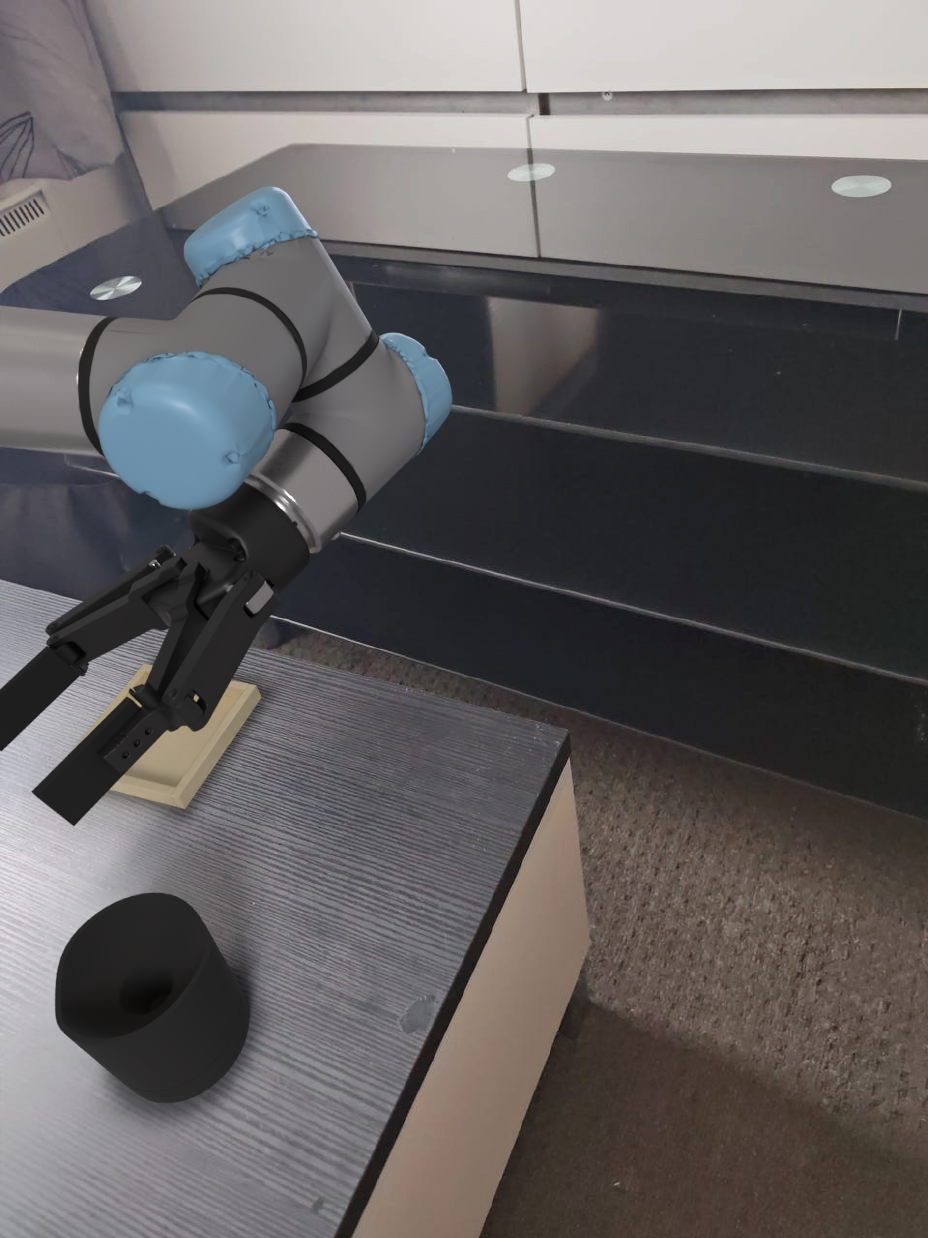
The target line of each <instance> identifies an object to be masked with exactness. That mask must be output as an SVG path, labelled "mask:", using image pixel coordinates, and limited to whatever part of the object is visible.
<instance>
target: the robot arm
mask: <svg viewBox="0 0 928 1238" xmlns="http://www.w3.org/2000/svg"><path fill="white" fill-rule="evenodd" d="M183 259H184V261H185V263H186V265H187V266H188V268H189V269H190V272H191V273H192V275H193V277H194V279H195V284H196V286H197V287H198V288H200V290H199V291H198V292H197V293H196V294H195V295H194V296H193V298H192V299H191V300H190V301H189V302H188V304H186V307H185V308H184V309H183V310H182V311H181V312H180V313H179V314H178V315H177V316H176V317H175V318H174V319H169V320H164V319H163V320H162V319H151V318H138V317H124V316H108V315H107V316H106V315H96V314H87V313H76V312H68V311H57V310H47V309H37V308H28V307H18V306H8V305H0V448H7V449H9V448H10V449H15V450H16V449H18V450H27V451H35V452H44V453H52V454H53V453H54V454H61V455H62V454H63V455H71V456H72V455H73V456H80V457H88V458H96V459H97V458H98V459H105V460H106V462H107V463H108V465H109V467H110V468H111V470H112V471H113V472H114V473H115V474H116V476H117V477H118V478H119V479H120V480H121V481H122V482H123V483H125V485H126V486H127V487H129V488H130V489H131V490H133V491H134V492H135V493H137V494H139V495H142V494H145V495H147V496H149V497H151V498H153V499H155V500H157V501H158V503H159V504H160V505H161V506H165V507H167V508H173V509H177V510H187V511H188V510H189V511H190V512H189V514H188V525H189V529H190V530H191V532H192V533H193V537H194V542H193V544H192V545H191V546H189V547H187V548H186V549H185V550H184V551H182V552H181V553H180V554H178V555H177V553H175V551H174V550H173V549H172V548H171V547H170V546H169V545H168V543H162V544H161V545H158V546H157V547H156V548H155V549H154V550H153V551H151V553H150V554H148V555H147V556H146V557H145V558H144V559H143V560H141V561H140V562H139V563H138V564H136V565H135V566H134V567H132V568H131V569H129V570H128V571H126V572H124V573H123V574H122V575H120V576H118V577H117V578H115V579H114V580H113V581H111V582H109V583H108V584H107V585H105V586H104V587H103V588H101V589H99V590H98V591H96V592H95V593H93V594H92V595H90V596H88V597H87V598H86V599H84V600H83V601H81V602H80V603H79V604H77V605H75V606H74V607H72V608H71V609H70V610H68V611H66V612H64V613H63V614H62V615H60V616H59V617H57V618H56V619H54V620H53V621H51V622H50V623H49V624H47V626H45V630H44V632H45V634H47V635H48V636H49V638H48V639H47V640H46V642H45V645H46V646H45V647H43V648H42V650H41V651H39V652H38V653H37V654H36V655H35V656H34V657H33V658H32V659H31V660H30V661H28V663H26V664H25V665H24V666H23V667H22V668H21V669H20V670H19V671H18V672H16V674H15V675H13V676H12V678H10V679H9V680H8V681H7V682H6V683H5V684H4V685H2V687H0V752H3V751H4V750H5V749H6V748H7V747H8V746H9V745H10V744H11V743H12V742H13V741H14V740H16V738H17V737H18V736H19V735H20V734H21V733H23V732H24V730H26V729H27V727H29V726H30V725H31V724H32V723H33V722H34V721H35V720H36V719H37V718H38V717H39V716H40V715H41V714H42V713H43V712H44V711H45V710H46V709H48V708H49V706H51V705H52V704H53V702H55V701H56V700H57V699H58V698H59V697H60V696H61V695H62V694H63V693H64V692H65V691H67V689H68V688H69V687H70V686H71V685H72V684H73V683H75V681H76V680H78V679H79V678H80V677H82V678H83V677H86V674H87V673H88V670H89V666H90V662H92V661H94V660H97V658H100V657H102V656H104V655H105V654H107V653H109V652H111V651H113V650H115V649H117V648H119V647H121V646H123V645H124V644H127V643H128V642H130V641H132V640H134V639H136V638H139V637H140V636H142V635H145V634H146V633H148V632H149V631H152V630H157V631H161V632H163V631H167V632H166V634H165V636H164V639H163V642H162V644H161V646H160V648H159V650H158V653H157V655H156V658H155V660H154V662H153V664H152V665H153V667H152V669H151V671H150V673H149V676H148V678H147V680H146V683H145V684H140V685H138V686H135V687H133V689H134V690H135V691H136V692H134V691H133V690H132V689H131V688H130V689H129V694H130V695H131V696H132V697H133V698H134V699H135V700H137V701H138V702H139V703H140V704H141V705H142V706H141V707H139V706H138V705H137V704H136V703H135V702H134V701H133V700H132V699H130V698H129V697H126V698H125V699H124V700H123V701H122V702H121V703H120V704H119V705H118V706H117V707H116V708H115V709H114V710H113V711H112V712H111V713H110V714H109V715H108V716H107V717H106V718H105V719H104V720H103V721H102V722H101V723H100V724H99V725H98V726H97V727H96V728H95V729H94V730H93V731H92V732H91V733H90V734H89V735H88V736H87V737H86V738H85V739H84V740H83V741H82V742H80V743H79V742H78V743H79V744H78V743H77V744H78V745H77V744H76V745H77V746H76V745H75V746H76V747H75V746H74V747H75V748H74V747H73V748H72V749H71V751H70V752H69V753H68V754H66V755H67V756H65V757H64V758H63V759H62V760H61V761H60V762H59V763H58V764H57V765H56V767H54V768H53V769H52V770H51V771H50V772H49V773H48V774H47V776H45V777H44V778H43V779H42V780H41V781H40V782H39V783H38V784H37V785H36V786H35V787H34V788H33V789H32V791H31V793H32V794H33V795H34V797H36V798H37V799H38V800H39V801H41V802H42V803H43V804H45V805H46V806H47V807H49V808H50V809H51V810H52V811H54V812H55V813H56V814H57V815H59V816H60V818H62V819H64V820H65V821H66V822H68V823H69V824H70V825H71V826H73V827H75V826H76V825H78V823H79V822H80V821H81V820H82V819H83V818H84V817H85V816H86V815H87V814H88V813H89V811H90V810H91V809H92V808H93V807H95V805H96V804H97V803H98V802H99V801H100V800H101V799H102V798H103V797H104V796H105V795H106V794H107V793H108V792H109V791H111V790H110V789H111V787H112V786H113V785H114V784H115V783H116V782H117V781H118V780H119V779H120V778H121V777H122V776H123V775H124V774H125V773H126V772H127V771H128V770H129V769H130V768H131V767H132V766H133V765H134V764H135V763H136V761H137V760H138V759H139V758H140V757H141V756H142V755H143V754H144V753H145V752H146V751H147V750H148V749H149V748H150V747H151V746H152V745H153V744H154V743H155V742H156V741H157V740H158V739H159V738H160V737H161V736H162V734H163V733H164V732H165V731H167V730H168V731H169V732H173V731H176V730H178V729H179V728H180V727H181V726H187V727H188V728H189V729H190V730H191V731H192V732H196V731H199V730H201V729H202V728H204V726H206V724H207V723H208V721H209V720H210V718H211V716H212V714H213V712H214V711H215V709H216V707H217V705H218V703H219V702H220V700H221V698H222V696H223V694H224V693H225V691H226V689H227V687H228V685H229V684H230V682H231V680H232V681H233V679H234V677H235V674H236V673H237V671H238V669H239V668H240V666H241V664H242V662H243V660H244V658H245V657H246V655H247V653H248V651H249V649H250V647H251V646H252V644H253V643H254V640H255V638H256V637H257V635H258V633H259V632H260V629H261V628H262V627H263V626H264V624H266V622H267V621H268V620H269V618H270V617H272V615H273V614H274V613H275V612H276V610H277V609H278V608H279V607H280V606H281V604H282V599H281V597H280V596H279V595H280V594H281V593H282V592H283V591H284V590H285V589H286V588H287V587H288V586H289V585H290V584H291V583H292V582H293V581H294V580H295V579H296V578H297V577H298V576H299V575H300V574H301V573H302V571H303V570H305V569H306V568H307V566H308V565H310V564H309V563H310V557H311V554H318V553H319V552H321V551H322V550H323V549H324V548H325V547H326V546H327V545H328V544H329V542H331V541H336V540H338V538H340V537H341V534H342V532H341V531H342V529H343V528H344V527H345V526H346V525H347V524H348V523H349V522H350V521H351V520H352V519H353V518H354V517H355V515H358V513H359V512H360V511H361V510H362V509H363V508H364V506H365V505H366V504H368V502H369V501H370V500H372V498H373V497H374V496H375V495H376V494H377V493H378V492H379V491H381V490H382V488H383V487H384V486H385V485H386V484H388V482H389V481H390V480H391V479H392V478H393V477H394V476H396V474H397V473H398V472H400V470H402V469H403V467H405V466H406V464H408V463H409V461H411V460H413V459H415V457H416V456H418V455H420V453H422V451H423V449H424V448H425V446H426V445H427V443H428V442H429V441H430V440H431V439H432V438H433V436H434V435H435V434H436V433H437V432H438V430H440V428H441V426H442V425H443V423H444V422H445V421H446V420H447V418H448V416H449V415H450V414H451V409H452V406H453V392H452V387H451V384H450V380H449V378H448V375H447V374H446V372H445V370H444V368H443V367H442V365H441V364H440V362H439V361H438V359H436V358H433V357H431V356H430V355H429V354H428V353H427V350H426V348H425V346H423V345H422V344H421V343H420V342H419V341H418V340H416V339H414V338H412V337H410V336H408V335H406V334H403V333H399V332H387V333H383V334H381V335H379V334H377V333H376V332H375V330H374V329H373V327H372V326H371V323H370V322H369V321H368V319H367V317H366V315H365V314H364V313H363V310H362V309H361V307H360V305H359V304H358V302H357V301H356V299H355V297H354V295H353V293H352V292H351V290H350V289H349V287H348V286H347V284H346V282H345V280H344V279H343V277H342V275H341V274H340V272H339V270H338V269H337V267H336V265H335V263H334V262H333V260H332V259H331V257H330V255H329V254H328V252H327V250H326V249H325V247H324V245H323V244H322V242H321V236H320V235H319V233H318V231H316V230H314V229H313V228H312V227H311V225H310V224H309V223H308V221H307V220H306V218H305V217H304V215H303V214H302V213H301V211H300V210H299V209H298V207H297V206H296V204H295V203H294V201H293V200H292V198H291V196H290V195H289V194H288V193H287V192H286V191H285V190H283V189H282V188H279V187H277V186H264V187H261V188H258V189H256V190H253V191H252V192H250V193H248V194H246V195H244V196H242V197H241V198H239V199H238V200H236V201H235V202H233V203H232V204H229V205H228V206H226V207H225V208H223V209H222V210H221V211H219V212H218V213H216V214H215V215H214V216H212V217H210V218H209V219H208V220H207V221H205V222H204V223H203V224H202V225H200V226H199V227H198V228H197V229H196V230H195V231H194V232H192V233H191V235H189V236H188V237H187V239H186V240H185V242H184V245H183ZM289 408H290V410H291V411H292V415H291V416H290V418H288V420H287V421H286V422H285V423H283V425H281V426H280V427H279V425H280V423H281V422H282V419H283V418H284V416H285V414H286V412H287V411H288V409H289ZM195 694H196V695H197V696H198V697H199V699H198V700H197V702H196V701H195V700H194V696H195Z"/></svg>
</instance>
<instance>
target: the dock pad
mask: <svg viewBox="0 0 928 1238" xmlns="http://www.w3.org/2000/svg"><path fill="white" fill-rule="evenodd" d="M152 667H153V664H148V663H143V664H142V665H141V667H140V668H139V669H138V670H137V672H136V673H135V674H134V675H133V676H132V678H131V679H130V680H129V681H128V682H127V684H126V685H125V686H124V687H123V689H121V691H120V692H119V693H118V694H117V695H116V697H114V698H113V700H112V701H111V703H110V704H109V706H107V707H106V709H105V710H104V711H103V712H102V714H101V715H100V716H99V717H98V719H96V721H95V722H94V723H93V725H92V726H91V727H90V728H89V729H88V730H87V732H86V733H85V734H84V735H83V736H82V737H81V739H80V740H79V741H78V742H77V743H76V745H75V746H74V747H73V749H74V748H75V747H76V746H77V745H78V744H79V743H80V742H82V741H83V740H84V739H85V738H86V737H87V736H88V735H89V734H90V733H91V732H92V731H93V730H94V729H95V728H96V727H97V726H98V725H99V724H100V723H101V722H102V721H103V720H104V719H105V718H106V717H107V716H108V715H109V714H110V713H111V712H112V711H113V710H114V709H115V708H116V707H117V706H118V705H119V704H120V703H121V702H122V701H123V700H124V699H125V698H126V697H129V698H130V699H132V700H133V701H134V702H135V703H136V704H137V705H138V706H139V707H141V706H142V705H141V704H140V703H139V702H138V701H137V700H135V699H134V698H133V697H132V696H131V695H130V694H129V689H130V688H131V689H132V690H133V691H134V692H136V691H135V690H134V689H133V687H135V686H138V685H140V684H145V683H146V680H147V678H148V676H149V673H150V671H151V669H152ZM262 697H263V696H262V695H261V692H260V690H259V688H258V685H256V684H254V683H253V684H252V683H248V682H242V681H238V680H237V681H236V680H233V679H232V680H231V682H230V684H229V685H228V687H227V689H226V691H225V693H224V694H223V696H222V698H221V700H220V702H219V703H218V705H217V707H216V709H215V711H214V712H213V714H212V716H211V718H210V720H209V721H208V723H207V724H206V726H204V728H202V729H201V730H199V731H196V732H192V731H191V730H190V729H189V728H188V727H187V726H181V727H180V728H179V729H178V730H176V731H173V732H169V731H168V730H167V731H165V732H164V733H163V734H162V736H161V737H160V738H159V739H158V740H157V741H156V742H155V743H154V744H153V745H152V746H151V747H150V748H149V749H148V750H147V751H146V752H145V753H144V754H143V755H142V756H141V757H140V758H139V759H138V760H137V761H136V763H135V764H134V765H133V766H132V767H131V768H130V769H129V770H128V771H127V772H126V773H125V774H124V775H123V776H122V777H121V778H120V779H119V780H118V781H117V782H116V783H115V784H114V785H113V786H112V787H111V789H110V790H109V791H114V792H118V793H121V794H125V795H128V796H132V797H137V798H141V799H144V800H148V801H152V802H156V803H160V804H164V805H168V806H172V807H175V808H176V807H177V808H180V809H183V810H185V809H186V808H187V807H188V806H189V804H190V803H191V801H192V799H193V798H194V797H195V795H196V794H197V792H198V791H199V789H200V788H201V786H202V785H203V784H204V782H205V781H206V779H207V778H208V776H209V775H210V773H211V772H212V771H213V769H214V768H215V766H216V764H217V763H218V762H219V760H220V759H221V757H222V756H223V754H224V753H225V752H226V750H227V748H228V747H229V746H230V744H231V743H232V742H233V740H234V738H235V737H236V736H237V734H238V733H239V731H240V730H241V728H242V727H243V725H245V722H246V721H247V719H248V718H249V717H250V715H251V713H252V712H253V711H254V709H255V708H256V706H257V705H258V703H259V702H260V700H261V699H262ZM198 699H199V697H198V696H197V695H196V694H195V696H194V700H195V701H196V702H197V700H198Z"/></svg>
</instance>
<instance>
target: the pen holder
mask: <svg viewBox="0 0 928 1238" xmlns="http://www.w3.org/2000/svg"><path fill="white" fill-rule="evenodd" d="M56 969H57V970H56V975H55V985H54V1016H55V1021H56V1025H57V1027H58V1028H59V1030H60V1031H61V1032H62V1033H63V1034H64V1035H65V1036H66V1037H67V1038H69V1039H70V1040H71V1041H72V1042H73V1043H74V1044H75V1045H77V1046H78V1047H79V1048H80V1049H81V1050H83V1051H84V1052H85V1053H86V1054H87V1055H89V1056H90V1057H91V1058H92V1059H93V1060H94V1061H95V1062H96V1063H98V1064H99V1065H100V1066H101V1067H103V1068H104V1069H105V1070H106V1071H107V1072H108V1073H109V1074H111V1075H112V1076H113V1077H115V1078H116V1079H117V1080H118V1081H119V1082H121V1083H122V1084H123V1085H125V1086H126V1087H127V1088H128V1089H129V1090H130V1091H132V1092H133V1093H135V1094H137V1095H138V1096H139V1097H141V1098H143V1099H145V1100H148V1101H150V1102H154V1103H158V1104H159V1103H160V1104H174V1103H175V1104H176V1103H180V1102H185V1101H187V1100H190V1099H193V1098H194V1097H197V1096H199V1095H201V1094H203V1093H204V1092H206V1091H208V1090H210V1089H211V1088H212V1087H213V1086H214V1085H216V1084H217V1083H218V1082H219V1081H221V1079H222V1078H224V1076H225V1075H226V1074H227V1073H228V1072H229V1070H231V1069H232V1067H233V1066H234V1064H235V1062H237V1060H238V1057H239V1055H240V1054H241V1052H242V1050H243V1047H244V1045H245V1043H246V1040H247V1036H248V1031H249V1025H250V1012H249V1006H248V1001H247V999H246V996H245V994H244V991H243V989H242V988H241V986H240V984H239V982H238V980H237V978H236V976H235V973H233V971H232V969H231V967H230V966H229V964H228V962H227V960H226V959H225V957H224V955H223V953H222V952H221V950H220V948H219V946H218V945H217V943H216V941H215V939H214V937H213V936H212V934H211V932H210V931H209V928H208V927H207V925H206V924H205V922H204V920H203V919H202V917H201V916H200V914H199V913H198V912H197V910H196V909H195V908H194V907H193V906H192V905H191V904H190V903H188V901H186V900H185V899H182V898H180V897H179V896H177V895H174V894H170V893H165V892H143V893H138V894H133V895H130V896H127V897H123V898H121V899H119V900H117V901H114V902H113V903H110V904H109V905H106V906H105V907H103V908H102V909H100V910H99V911H98V912H96V913H95V914H93V915H92V916H91V917H90V918H88V919H87V920H86V921H85V922H84V923H83V924H82V925H80V927H78V929H77V930H76V931H75V932H74V933H73V934H72V936H71V937H70V938H69V940H68V941H67V943H66V944H65V946H64V949H63V951H62V953H61V955H60V957H59V961H58V965H57V968H56Z"/></svg>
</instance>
